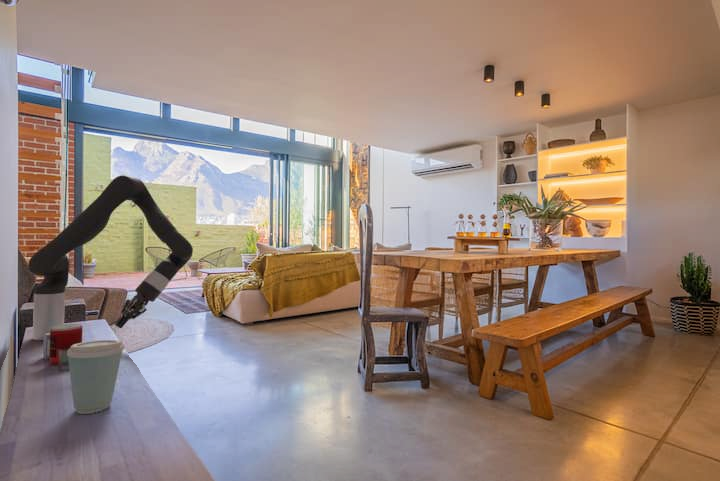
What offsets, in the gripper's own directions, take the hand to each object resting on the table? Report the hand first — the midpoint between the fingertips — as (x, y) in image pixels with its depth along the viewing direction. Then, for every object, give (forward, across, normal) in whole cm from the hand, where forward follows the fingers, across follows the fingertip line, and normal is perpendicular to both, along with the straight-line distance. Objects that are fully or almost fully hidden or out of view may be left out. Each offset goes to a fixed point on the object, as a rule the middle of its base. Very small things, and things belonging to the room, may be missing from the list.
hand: (117, 326), depth 130 cm
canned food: (+16, +4, -7) cm, 18 cm away
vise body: (+15, +11, -7) cm, 20 cm away
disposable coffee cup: (+16, +48, -14) cm, 53 cm away
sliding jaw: (+16, -8, -6) cm, 19 cm away
